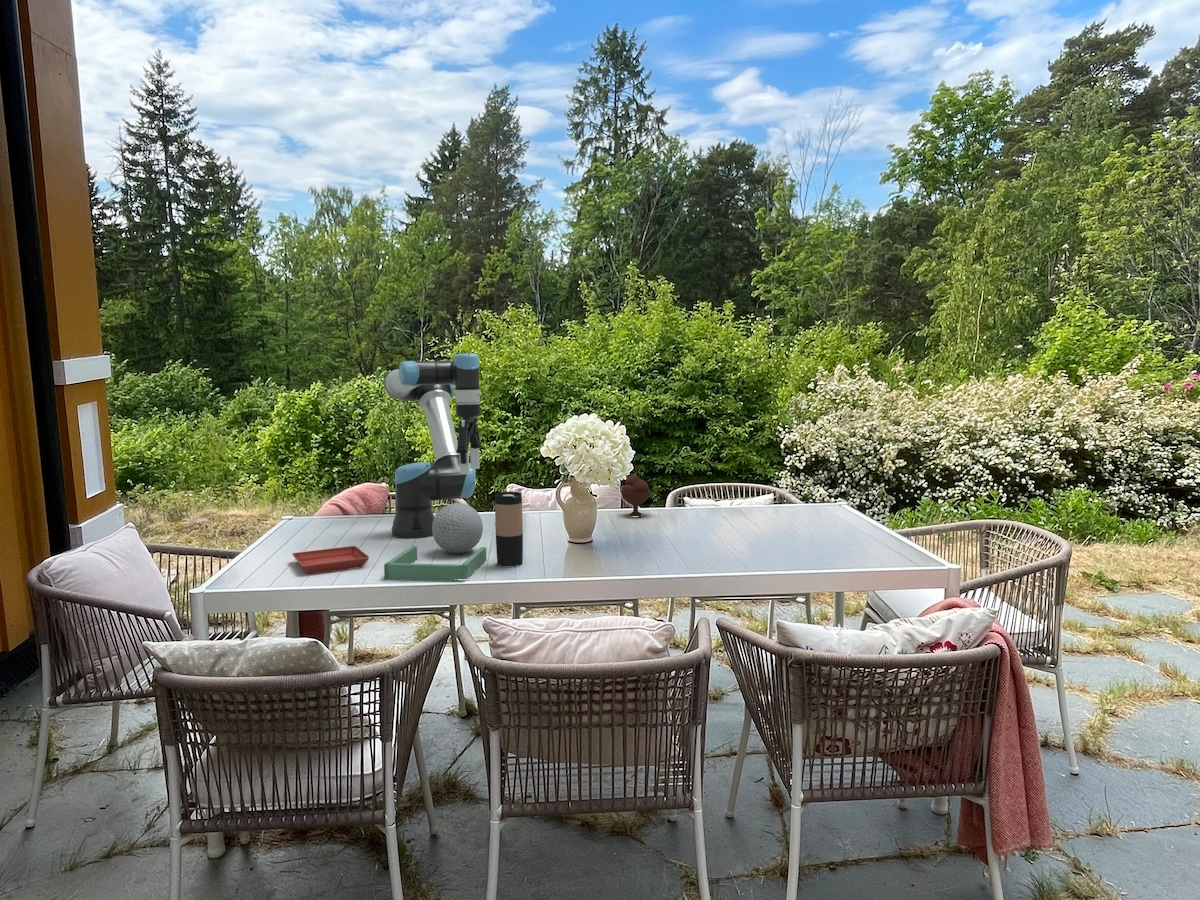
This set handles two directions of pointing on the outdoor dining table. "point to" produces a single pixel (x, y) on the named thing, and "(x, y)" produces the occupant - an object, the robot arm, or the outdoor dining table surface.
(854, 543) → the outdoor dining table surface
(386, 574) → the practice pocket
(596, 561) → the outdoor dining table surface
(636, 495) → the ice cream bowl
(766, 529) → the outdoor dining table surface
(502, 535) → the travel mug
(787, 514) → the outdoor dining table surface
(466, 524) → the decorative ball
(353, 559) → the plant saucer
